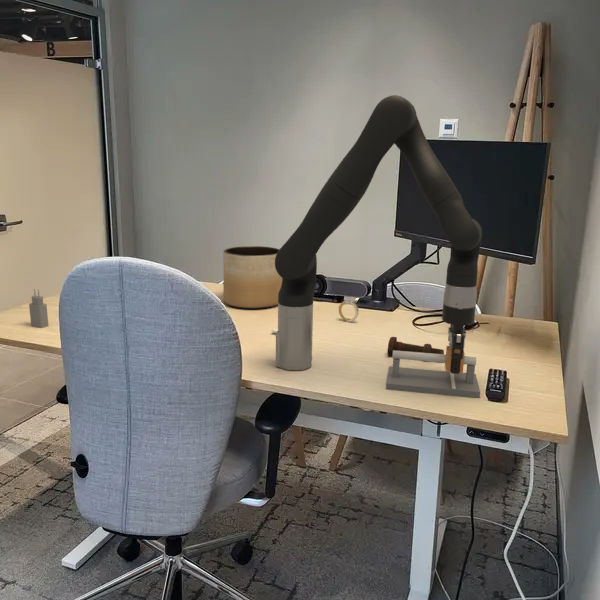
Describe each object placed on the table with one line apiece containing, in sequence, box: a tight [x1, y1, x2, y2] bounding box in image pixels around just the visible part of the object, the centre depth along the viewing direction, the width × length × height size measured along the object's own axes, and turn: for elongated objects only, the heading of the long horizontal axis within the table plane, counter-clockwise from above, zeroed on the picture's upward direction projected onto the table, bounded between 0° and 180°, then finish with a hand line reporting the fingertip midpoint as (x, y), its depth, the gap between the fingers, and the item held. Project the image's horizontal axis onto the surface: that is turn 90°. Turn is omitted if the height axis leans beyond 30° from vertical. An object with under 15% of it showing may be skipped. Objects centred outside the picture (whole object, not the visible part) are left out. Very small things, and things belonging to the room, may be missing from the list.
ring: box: [338, 298, 359, 323], centre depth 197 cm, size 7×3×8 cm, turn 53°
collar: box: [444, 345, 466, 373], centre depth 143 cm, size 4×5×5 cm
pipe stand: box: [385, 350, 481, 399], centre depth 145 cm, size 22×12×8 cm, turn 79°
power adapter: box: [28, 288, 49, 329], centre depth 186 cm, size 3×5×12 cm, turn 61°
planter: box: [222, 245, 282, 310], centre depth 218 cm, size 22×22×20 cm
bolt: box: [386, 336, 445, 357], centre depth 164 cm, size 6×5×15 cm
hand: (453, 367), depth 143 cm, fingers open, 8 cm apart
